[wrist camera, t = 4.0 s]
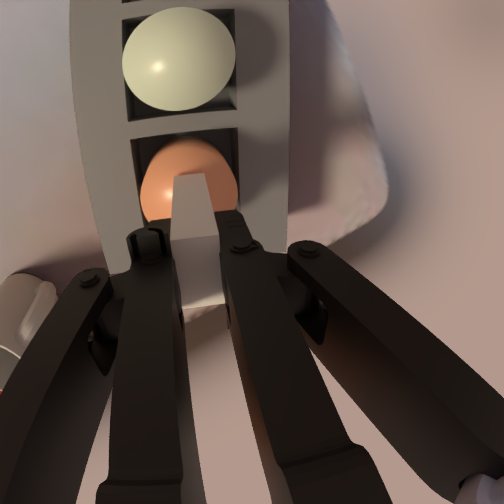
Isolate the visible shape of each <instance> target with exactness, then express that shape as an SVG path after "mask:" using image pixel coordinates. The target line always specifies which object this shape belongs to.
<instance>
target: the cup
mask: <svg viewBox="0 0 504 504" xmlns="http://www.w3.org/2000/svg"><path fill="white" fill-rule="evenodd" d="M58 299H59V298H58V296H57V295H56V288H55V286H54V284H53V283H51V282H48V281H43V280H41V279H40V278H38V277H36V276H33V275H30V274H25V273H22V274H14V275H11V276H9V277H8V278H7V279H6V280H5V281H4V282H3V283H2V285H1V286H0V391H2V390H3V388H4V386H5V384H6V383H7V381H8V379H9V377H10V375H11V374H12V372H13V370H14V368H15V367H16V365H17V363H18V361H19V360H20V358H21V356H22V355H23V353H24V351H25V350H26V348H27V346H28V345H29V343H30V341H31V340H32V338H33V337H34V335H35V333H36V332H37V330H38V329H39V327H40V326H41V324H42V323H43V321H44V320H45V318H46V317H47V315H48V314H49V312H50V311H51V309H52V308H53V306H54V305H55V303H56V302H57V300H58Z"/></svg>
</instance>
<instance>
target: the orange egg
mask: <svg viewBox="0 0 504 504" xmlns="http://www.w3.org/2000/svg"><path fill="white" fill-rule="evenodd" d="M198 173H204V174H205V178H206V183H207V187H208V191H209V195H210V200H211V204H212V208H213V212H216V211H225V210H234V209H235V208H236V204H237V199H238V189H237V184H236V180H235V178H234V175H233V173H232V171H231V169H230V168H229V166H228V164H227V162H226V160H225V158H224V156H223V155H222V153H221V151H220V150H219V149H218V148H217V147H216V146H215V145H214V144H213V143H211V142H210V141H208V140H206V139H204V138H201V137H197V136H180V137H176V138H173V139H171V140H169V141H167V142H166V143H164V144H163V145H162V146H160V147H159V148H158V150H157V151H156V152H155V153H154V155H153V157H152V158H151V161H150V163H149V166H148V169H147V172H146V174H145V177H144V180H143V183H142V187H141V193H140V200H141V206H142V210H143V212H144V215H145V217H146V219H147V220H148V222H150V221H151V220H158V219H166V218H171V211H172V195H173V182H174V176H180V175H189V174H198Z"/></svg>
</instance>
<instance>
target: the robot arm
mask: <svg viewBox="0 0 504 504" xmlns="http://www.w3.org/2000/svg"><path fill="white" fill-rule="evenodd" d="M126 242H127V246H128V250H129V254H130V258H131V266H130V269H129V270H127V271H126V272H123V273H121V274H118V275H115V276H112V277H109V274H108V271H106V270H105V269H102V268H90V269H88V270H87V269H86V270H84V271H82V272H81V273H79V274H77V275H76V276H75V277H74V278H73V279H72V281H71V282H70V283H69V285H68V286H67V288H66V289H65V290H64V292H63V293H62V295H61V296H60V298H59V299H58V300H57V302H56V303H55V305H54V306H53V308H52V309H51V311H50V312H49V314H48V315H47V317H46V318H45V320H44V321H43V323H42V324H41V326H40V327H39V329H38V330H37V332H36V333H35V335H34V337H33V338H32V340H31V341H30V343H29V345H28V346H27V348H26V350H25V351H24V353H23V355H22V356H21V358H20V360H19V361H18V363H17V365H16V367H15V368H14V370H13V372H12V374H11V375H10V377H9V379H8V381H7V383H6V384H5V386H4V388H3V390H2V392H1V394H0V504H76V500H77V496H78V493H79V489H80V485H81V482H82V478H83V475H84V471H85V468H86V464H87V461H88V458H89V455H90V451H91V448H92V445H93V442H94V439H95V436H96V432H97V430H98V427H99V424H100V421H101V418H102V415H103V412H104V409H105V406H106V403H107V400H108V398H109V395H110V392H111V389H112V387H113V389H112V402H111V403H112V404H111V416H110V436H109V438H110V439H109V472H108V477H107V479H106V480H105V481H104V482H102V483H101V484H100V485H99V487H98V489H97V492H96V501H95V504H207V503H206V499H205V492H204V486H203V480H202V475H201V468H200V462H199V455H198V448H197V442H196V434H195V427H194V419H193V410H192V402H191V392H190V383H189V373H188V363H187V351H186V338H185V324H184V316H183V311H182V308H183V309H185V308H193V307H201V306H209V305H216V304H223V303H225V305H226V314H227V325H228V329H230V332H231V337H232V341H233V346H234V350H235V355H236V359H237V364H238V368H239V372H240V377H241V381H242V385H243V389H244V393H245V398H246V402H247V406H248V410H249V414H250V418H251V422H252V426H253V430H254V434H255V438H256V442H257V446H258V450H259V454H260V458H261V461H262V465H263V469H264V473H265V477H266V480H267V484H268V488H269V491H270V495H271V500H272V504H393V503H392V501H391V498H390V496H389V494H388V492H387V490H386V487H385V485H384V483H383V481H382V479H381V476H380V474H379V472H378V470H377V468H376V465H375V463H374V461H373V459H372V458H371V456H370V454H369V452H367V450H366V449H365V448H364V447H363V446H361V445H358V444H355V443H353V442H352V441H351V440H350V438H349V436H348V435H347V432H346V430H345V428H344V426H343V423H342V421H341V419H340V417H339V414H338V412H337V410H336V407H335V405H334V403H333V401H332V398H331V397H330V394H329V392H328V389H327V387H326V385H325V383H324V380H323V378H322V376H321V374H320V371H319V369H318V367H317V365H316V362H315V360H314V358H313V356H312V354H311V351H310V349H311V350H312V352H313V353H314V354H315V355H316V357H317V358H318V359H319V360H320V361H321V363H322V364H323V365H324V366H325V367H326V369H327V370H328V371H329V372H330V373H331V375H332V376H333V377H334V378H335V379H336V380H337V382H338V383H339V384H340V385H341V386H342V388H343V389H344V390H345V391H346V392H347V393H348V395H349V396H350V397H351V398H352V399H353V401H354V402H355V403H356V404H357V405H358V406H359V408H360V409H361V410H362V411H363V412H364V414H365V415H366V416H367V417H368V418H369V419H370V421H371V422H372V423H373V424H374V425H375V426H376V428H377V429H378V430H379V431H380V432H381V433H382V435H383V436H384V437H385V438H386V439H387V440H388V442H389V443H390V444H391V445H392V446H393V447H394V449H395V450H396V451H397V452H398V453H399V454H400V455H401V456H402V458H403V459H404V460H405V461H406V462H407V464H408V465H409V466H410V467H411V468H412V469H413V470H414V471H415V473H416V474H417V475H418V476H419V477H420V478H421V479H422V480H423V481H424V482H425V483H426V484H427V485H428V486H429V487H430V488H431V489H432V490H433V491H435V492H436V493H438V494H439V495H440V496H441V497H443V498H444V499H446V500H448V501H450V502H452V503H453V504H504V398H503V397H502V396H501V395H500V394H499V393H498V392H497V391H496V390H495V389H494V388H493V387H492V386H490V385H489V384H488V383H487V382H486V381H485V380H484V379H483V378H482V377H481V376H480V375H479V374H478V373H476V372H475V371H474V370H473V369H472V368H471V367H470V366H469V365H468V364H466V363H465V362H464V361H463V360H462V359H461V358H460V357H459V356H458V355H457V354H455V353H454V352H453V351H452V350H451V349H450V348H449V347H447V346H446V345H445V344H444V343H443V342H442V341H441V340H439V339H438V338H437V337H436V336H435V335H434V334H433V333H431V332H430V331H429V330H428V329H427V328H426V327H424V326H423V325H422V324H421V323H420V322H419V321H417V320H416V319H415V318H414V317H413V316H411V315H410V314H409V313H408V312H407V311H405V310H404V309H403V308H402V307H401V306H400V305H398V304H397V303H396V302H395V301H394V300H392V299H391V298H390V297H389V296H387V295H386V294H385V293H384V292H383V291H381V290H380V289H379V288H378V287H376V286H375V285H374V284H373V283H371V282H370V281H369V280H368V279H366V278H365V277H364V276H363V275H362V274H360V273H359V272H358V271H357V270H355V269H354V268H353V267H351V266H350V265H349V264H348V263H346V262H345V261H344V260H343V259H341V258H340V257H339V256H337V255H336V254H335V253H334V252H332V251H331V250H329V249H328V248H327V247H326V246H324V245H322V244H321V243H318V242H314V241H310V240H303V241H298V242H295V243H293V244H291V245H290V246H289V247H288V251H287V254H284V253H272V252H268V251H265V250H264V248H263V246H262V245H261V243H260V242H259V241H257V240H254V239H253V238H252V235H251V233H250V231H249V228H248V226H247V224H246V222H245V219H244V217H243V215H242V214H241V213H240V212H238V211H237V210H235V209H234V210H225V211H216V212H213V208H212V204H211V200H210V195H209V191H208V187H207V183H206V178H205V174H204V173H198V174H189V175H180V176H174V182H173V195H172V211H171V218H166V219H158V220H151V221H150V222H149V223H148V224H147V225H146V226H145V227H143V228H139V229H137V230H135V231H133V232H131V233H130V234H129V235H128V236H127V238H126ZM89 335H90V336H89ZM309 348H310V349H309Z"/></svg>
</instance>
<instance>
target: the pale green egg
mask: <svg viewBox="0 0 504 504" xmlns="http://www.w3.org/2000/svg"><path fill="white" fill-rule="evenodd" d="M235 55H236V53H235V46H234V41H233V39H232V36H231V34H230V32H229V31H228V29H227V28H226V26H225V25H224V24H223V23H222V22H221V21H220V20H219V19H218V18H216V17H215V16H213V15H212V14H210V13H208V12H206V11H203V10H200V9H196V8H191V7H175V8H169V9H166V10H162V11H160V12H157V13H155V14H153V15H152V16H150V17H148V18H147V19H145V20H144V21H143V22H142V23H141V24H139V25H138V26H137V27H136V29H135V30H134V31H133V32H132V34H131V35H130V37H129V39H128V41H127V43H126V45H125V48H124V52H123V58H122V68H123V74H124V77H125V80H126V82H127V85H128V86H129V88H130V89H131V91H132V92H133V93H134V94H135V95H136V96H137V97H138V98H139V99H140V100H141V101H143V102H144V103H146V104H148V105H150V106H152V107H155V108H158V109H162V110H167V111H182V110H188V109H191V108H195V107H197V106H200V105H202V104H204V103H206V102H208V101H209V100H211V99H212V98H213V97H215V96H216V95H217V94H218V93H219V92H220V91H221V90H222V89H223V88H224V87H225V85H226V84H227V82H228V81H229V79H230V77H231V75H232V72H233V69H234V65H235Z"/></svg>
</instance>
